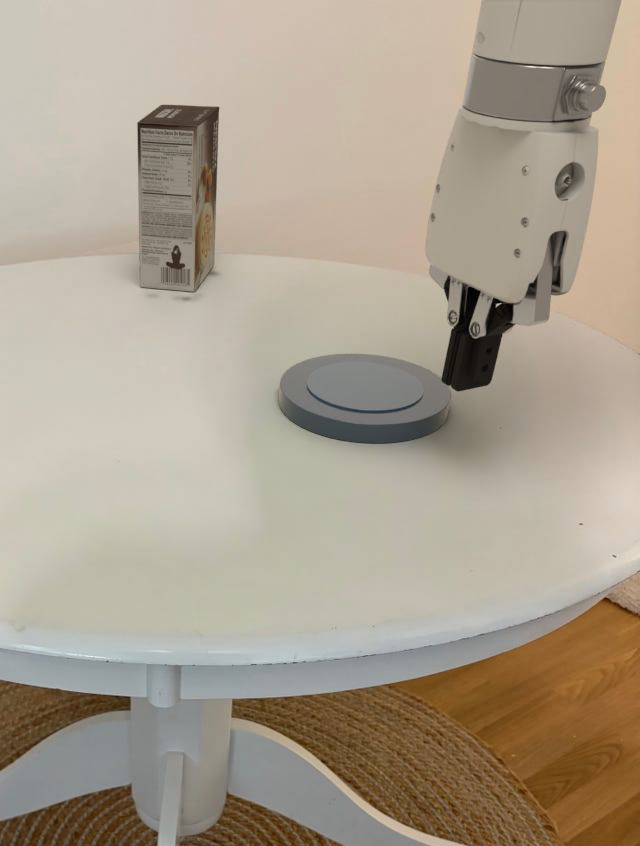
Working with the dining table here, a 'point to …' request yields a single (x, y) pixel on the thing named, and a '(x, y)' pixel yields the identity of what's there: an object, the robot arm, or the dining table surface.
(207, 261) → the coffee box
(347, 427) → the plate
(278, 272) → the dining table surface
